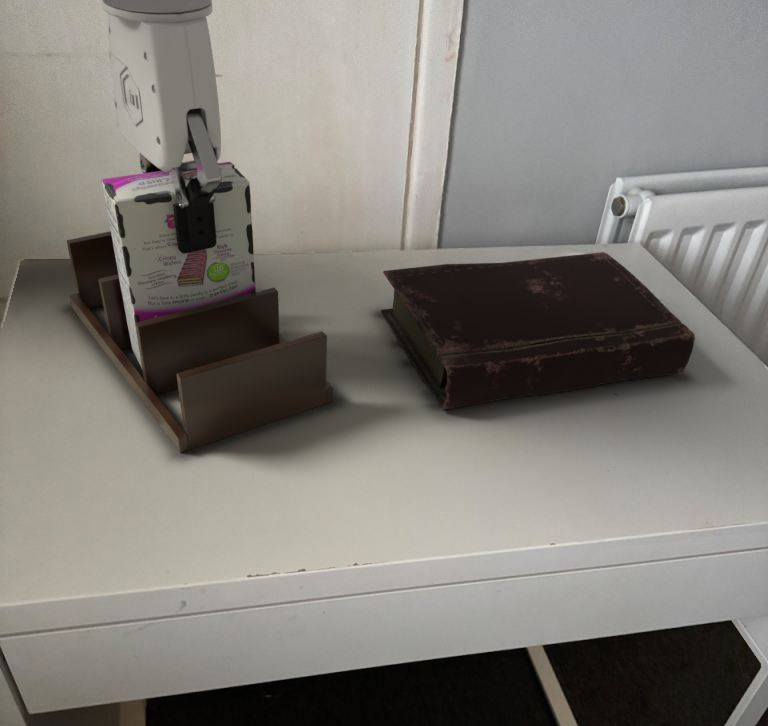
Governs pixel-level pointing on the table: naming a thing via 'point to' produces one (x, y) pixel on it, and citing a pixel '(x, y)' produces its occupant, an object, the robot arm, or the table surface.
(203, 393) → the rack
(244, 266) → the candy bar box
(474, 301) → the diary
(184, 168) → the robot arm
